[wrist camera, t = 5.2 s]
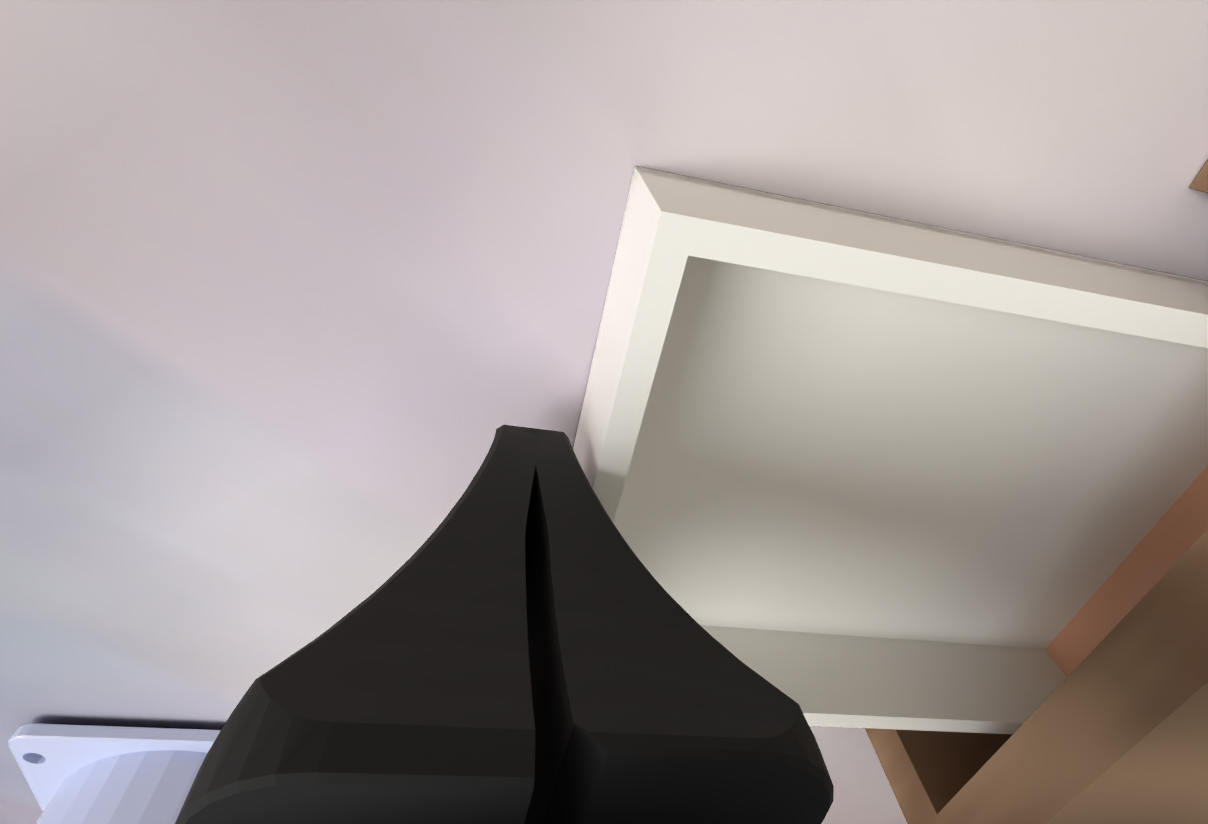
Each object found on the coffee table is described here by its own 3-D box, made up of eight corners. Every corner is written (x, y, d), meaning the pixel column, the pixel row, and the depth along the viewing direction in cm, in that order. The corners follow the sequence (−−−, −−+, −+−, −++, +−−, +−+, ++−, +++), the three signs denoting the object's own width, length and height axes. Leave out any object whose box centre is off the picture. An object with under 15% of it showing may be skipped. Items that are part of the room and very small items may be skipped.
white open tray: (1038, 646, 19) (1110, 738, 16) (537, 611, 16) (537, 714, 14) (1335, 307, 13) (1510, 372, 11) (634, 165, 10) (661, 210, 8)
